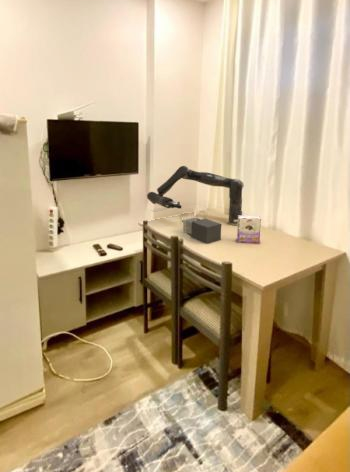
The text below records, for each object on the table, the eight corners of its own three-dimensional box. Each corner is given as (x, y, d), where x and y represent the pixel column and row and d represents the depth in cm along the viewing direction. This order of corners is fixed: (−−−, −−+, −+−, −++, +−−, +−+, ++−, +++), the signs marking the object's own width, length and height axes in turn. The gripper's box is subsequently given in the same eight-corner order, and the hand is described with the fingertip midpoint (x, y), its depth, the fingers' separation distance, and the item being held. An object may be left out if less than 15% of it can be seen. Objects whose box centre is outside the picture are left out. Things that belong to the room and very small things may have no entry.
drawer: (178, 230, 223) (179, 217, 221) (191, 227, 230) (191, 215, 228) (196, 237, 209) (196, 224, 208) (208, 233, 216) (209, 221, 215)
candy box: (258, 240, 209) (259, 215, 206) (259, 243, 203) (261, 218, 200) (236, 239, 210) (237, 214, 207) (237, 242, 204) (238, 217, 201)
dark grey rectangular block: (191, 237, 212) (191, 221, 210) (204, 233, 220) (205, 218, 218) (206, 243, 201) (207, 227, 199) (220, 239, 209) (221, 223, 207)
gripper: (158, 198, 236) (173, 203, 223) (172, 196, 244) (187, 200, 231) (158, 208, 238) (173, 213, 224) (172, 205, 246) (187, 210, 233)
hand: (180, 207), depth 228 cm, fingers closed
